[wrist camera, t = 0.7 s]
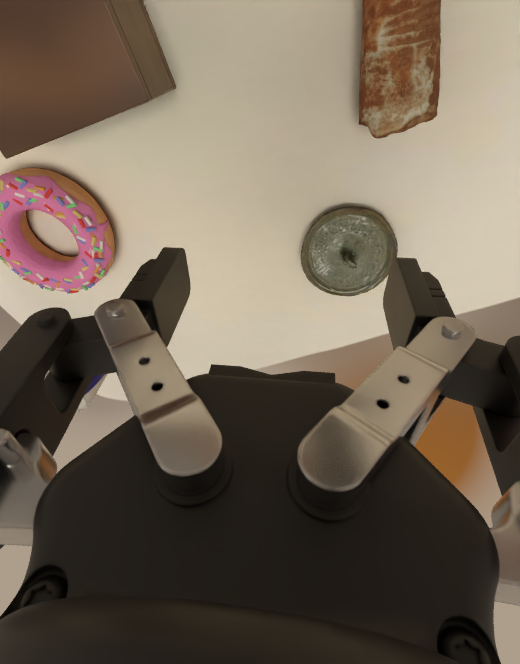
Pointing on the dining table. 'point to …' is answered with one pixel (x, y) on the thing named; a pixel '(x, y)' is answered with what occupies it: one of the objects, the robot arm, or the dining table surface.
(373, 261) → the lid
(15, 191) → the donut
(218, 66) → the dining table surface
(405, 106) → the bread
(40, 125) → the cabinet
